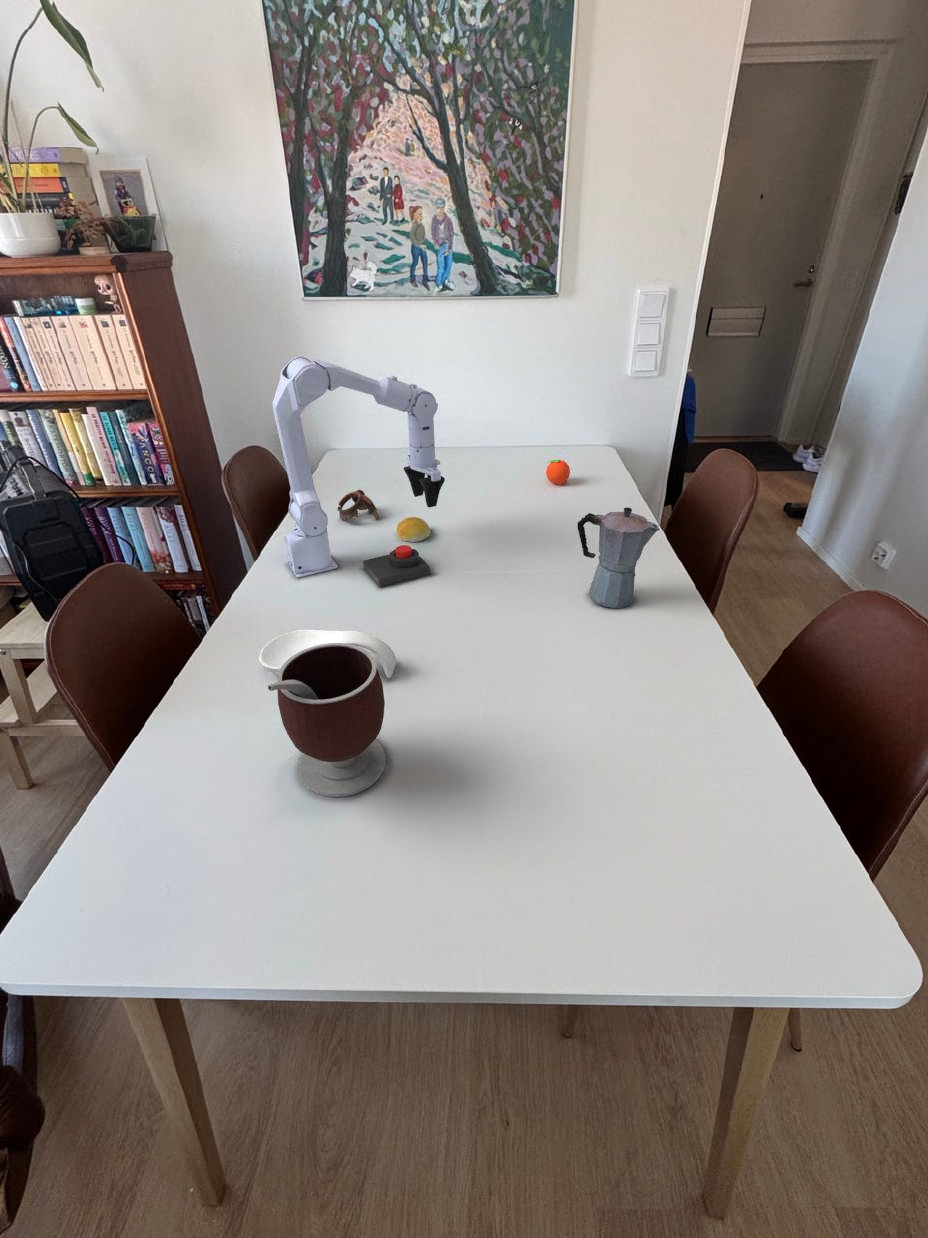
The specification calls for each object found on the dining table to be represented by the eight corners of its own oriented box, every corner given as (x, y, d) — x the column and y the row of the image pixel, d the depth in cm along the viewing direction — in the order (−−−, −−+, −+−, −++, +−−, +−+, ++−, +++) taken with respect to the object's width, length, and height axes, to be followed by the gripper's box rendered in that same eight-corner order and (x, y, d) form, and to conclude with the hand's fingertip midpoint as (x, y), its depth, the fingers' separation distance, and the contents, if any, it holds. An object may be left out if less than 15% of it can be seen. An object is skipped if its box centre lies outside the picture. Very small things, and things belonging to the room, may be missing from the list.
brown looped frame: (381, 525, 163) (364, 503, 157) (351, 540, 165) (332, 519, 159) (380, 497, 171) (363, 475, 165) (351, 512, 173) (333, 491, 167)
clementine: (539, 486, 183) (541, 462, 179) (544, 478, 189) (545, 454, 185) (567, 488, 181) (568, 464, 177) (570, 480, 187) (572, 456, 183)
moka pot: (648, 613, 124) (664, 520, 113) (569, 606, 127) (577, 514, 116) (646, 589, 132) (661, 500, 121) (572, 583, 135) (580, 495, 124)
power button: (399, 560, 137) (399, 553, 136) (393, 554, 140) (392, 547, 139) (414, 557, 138) (414, 549, 138) (408, 550, 141) (407, 543, 140)
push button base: (379, 588, 134) (378, 572, 132) (363, 569, 142) (362, 553, 140) (430, 575, 139) (429, 559, 137) (412, 557, 146) (411, 541, 144)
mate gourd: (347, 719, 99) (330, 612, 89) (410, 758, 92) (400, 647, 81) (265, 776, 89) (235, 664, 79) (329, 826, 82) (305, 709, 71)
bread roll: (401, 545, 152) (399, 530, 150) (394, 530, 159) (393, 515, 157) (434, 540, 154) (433, 525, 151) (426, 526, 161) (425, 511, 159)
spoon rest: (252, 684, 107) (243, 650, 103) (277, 645, 117) (270, 612, 113) (387, 692, 105) (383, 657, 101) (401, 651, 115) (398, 618, 111)
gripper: (452, 449, 138) (453, 507, 145) (424, 433, 148) (427, 488, 156) (422, 455, 135) (426, 514, 142) (397, 437, 146) (401, 493, 153)
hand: (425, 500), depth 149 cm, fingers open, 7 cm apart
